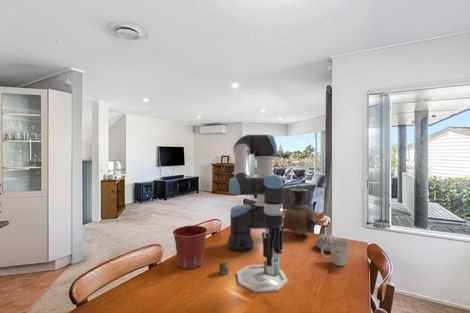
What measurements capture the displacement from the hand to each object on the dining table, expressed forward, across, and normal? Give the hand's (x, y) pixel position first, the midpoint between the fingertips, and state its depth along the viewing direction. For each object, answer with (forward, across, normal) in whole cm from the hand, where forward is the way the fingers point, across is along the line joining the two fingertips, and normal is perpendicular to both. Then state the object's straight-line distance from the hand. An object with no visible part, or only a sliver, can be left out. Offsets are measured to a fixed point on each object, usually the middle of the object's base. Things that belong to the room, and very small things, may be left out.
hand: (273, 271), depth 95 cm
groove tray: (+6, 0, +6) cm, 8 cm away
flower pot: (+6, -9, +41) cm, 42 cm away
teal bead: (+1, 0, 0) cm, 1 cm away
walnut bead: (+6, -7, +21) cm, 23 cm away
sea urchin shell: (+6, +52, -5) cm, 53 cm away
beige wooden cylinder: (+5, +6, +6) cm, 9 cm away
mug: (+6, +36, -13) cm, 39 cm away
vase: (+5, +63, +17) cm, 66 cm away
